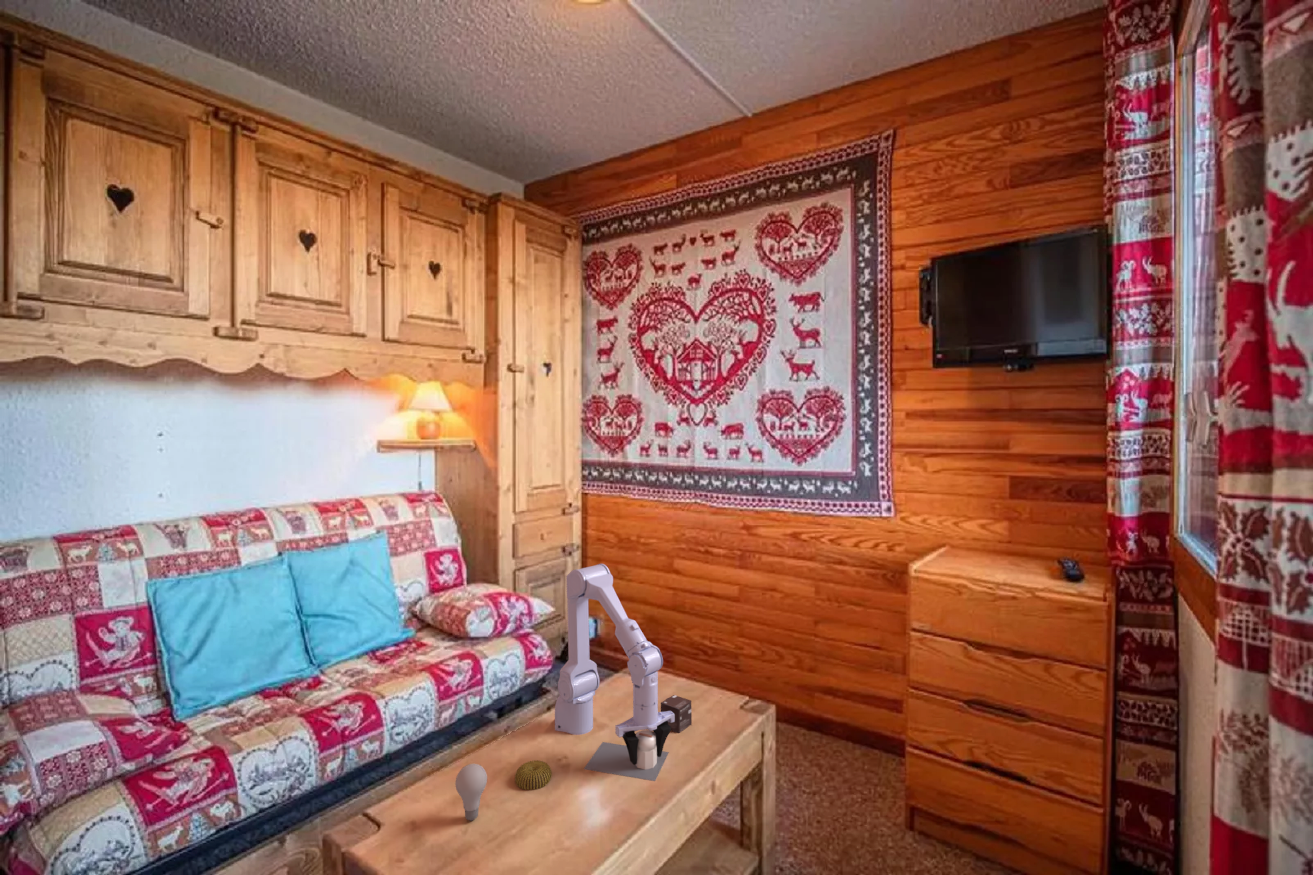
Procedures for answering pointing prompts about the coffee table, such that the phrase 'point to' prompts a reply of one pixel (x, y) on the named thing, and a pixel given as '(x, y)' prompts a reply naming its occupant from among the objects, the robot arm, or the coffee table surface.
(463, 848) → the coffee table surface
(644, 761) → the knob
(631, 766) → the board
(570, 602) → the robot arm
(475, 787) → the lightbulb
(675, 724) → the box
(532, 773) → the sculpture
